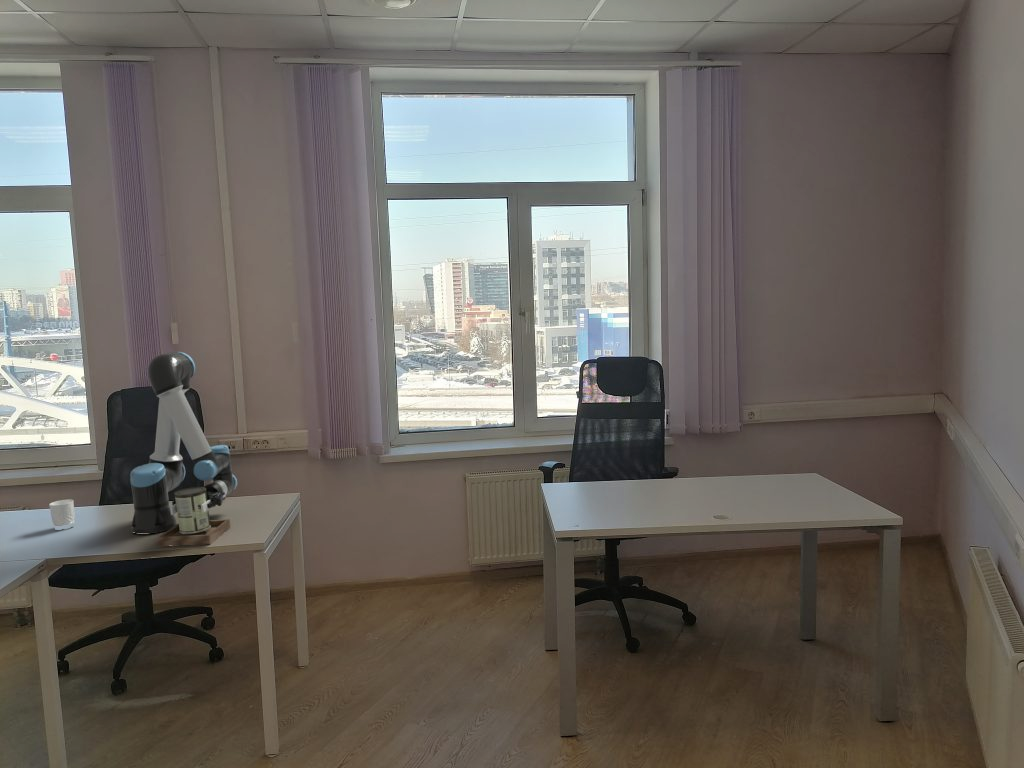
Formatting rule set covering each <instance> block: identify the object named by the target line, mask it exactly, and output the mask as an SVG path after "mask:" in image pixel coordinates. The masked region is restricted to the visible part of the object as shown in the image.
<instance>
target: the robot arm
mask: <svg viewBox="0 0 1024 768" xmlns="http://www.w3.org/2000/svg"><path fill="white" fill-rule="evenodd" d="M195 372H196V364H195V361H194V360H193V358H192V357H191V356H190V355H188V354H187V353H185V352H182V351H170V352H167V353H162V354H158V355H156V356H154V357H153V358H152V359H151V360H150V362H149V364H148V366H147V376H148V380H149V383H150V385H151V388H152V390H153V392H154V394H155V395H156V398H158V399H159V401H158V409H157V411H158V412H157V420H156V421H157V422H156V432H155V444H154V445H155V446H154V451H153V453H152V454H150V455H149V460H148V461H149V462H148V463H146V464H145V463H144V464H141V465H139V466H137V467H134V468H133V469H132V470H131V471H130V480H129V481H130V485H131V492H132V500H133V501H132V502H133V508H134V509H133V510H134V512H133V517H132V521H131V525H130V526H131V527H130V528H131V529H130V530H131V533H132V532H135V533H155V534H157V533H156V532H160V533H163V531H164V532H167V531H168V530H170V529H171V528H173V527H174V526H175V525H177V524H178V523H177V518H176V516H175V514H177V507H176V499H175V500H173V501H171V506H170V502H169V492H171V491H172V490H173V491H174V490H175V489H176V488H177V487H179V486H180V485H181V483H183V481H184V479H185V476H186V468H185V465H184V463H183V460H184V459H183V456H182V455H181V454H180V444H181V441H182V442H183V444H184V446H185V448H186V451H187V452H188V454H189V457H190V458H191V460H192V462H193V464H194V466H193V475H194V476H195V478H196V479H198V480H200V481H204V482H205V481H210V480H211V481H210V482H209V483H207V484H205V485H204V486H203V487H205V488H206V495H207V501H206V502H205V503H203V504H202V505H201V511H202V513H204V512H206V511H207V510H208V511H209V510H210V509H211V508H215V507H216V506H218V507H221V506H222V505H223V502H224V501H225V500H226V497H227V496H228V495H229V494H231V493H233V491H235V489H236V488H237V486H238V478H237V477H236V476H235V475H234V473H233V471H232V463H231V462H232V461H231V453H230V449H229V446H228V445H225V444H219V445H217V444H216V445H213V446H210V444H209V442H208V440H207V438H206V436H205V434H204V432H203V429H202V427H201V426H200V424H199V422H198V419H197V417H196V416H195V413H194V412H193V409H192V407H191V405H190V404H189V401H188V400H187V399H188V398H187V397H186V395H185V393H186V392H187V391H189V390H190V385H191V384H190V383H191V379H192V378H193V376H194V374H195ZM166 530H167V531H166Z"/></svg>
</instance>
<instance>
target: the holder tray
mask: <svg viewBox="0 0 1024 768" xmlns="http://www.w3.org/2000/svg"><path fill="white" fill-rule="evenodd" d="M210 526H211V527H210V528H209V529H208V530H205V531H202V532H199V533H193V534H182V533H180V529H179V522H178V523H177V525H175V526H174V527H173V528H171V529H170V530H167V531H164V533H162V534H161V535H160V536H158V537H157V538H156V543H157V547H158V546H169V545H191V546H206V545H205V544H210V545H212V544H213V543H214V542H215V541H216V540H218V539H219V538H220V537H221V536H223V535H224V534H225V533H226V532H227V531H228V529H229V528H230V527H231V520H230V519H211V520H210ZM230 529H231V528H230ZM230 529H229V530H230ZM224 532H225V533H224ZM223 533H224V534H223ZM222 534H223V535H222ZM219 536H220V537H219ZM218 537H219V538H218ZM217 538H218V539H217ZM212 542H213V543H212ZM211 543H212V544H211ZM202 544H204V545H202Z"/></svg>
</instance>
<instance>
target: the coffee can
mask: <svg viewBox="0 0 1024 768" xmlns="http://www.w3.org/2000/svg"><path fill="white" fill-rule="evenodd" d="M173 494H174V497H175V500H176V507H177V512H176V514H177V521H178V523H179V529H180V533H182V534H193V533H199V532H202V531H205V530H208V529H209V528H210V527H211V526H210V513H209V512H210V511H209V509H208V510H207V511H206V512H204V513H202V511H201V505H202V504H203V503H205V502H206V501H207V495H206V488H205V487H204V486H192V487H188V488H183V489H180V490H176V491H175V492H174V493H173Z"/></svg>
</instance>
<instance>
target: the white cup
mask: <svg viewBox="0 0 1024 768" xmlns="http://www.w3.org/2000/svg"><path fill="white" fill-rule="evenodd" d="M48 505H49V510H50V515H51V520H52V523H53V526H54V525H55V526H63V525H68V524H72V523H75V519H76V517H75V506H74V505H75V504H74V499H62V500H56V501H53V502H50V503H49V504H48Z"/></svg>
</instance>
